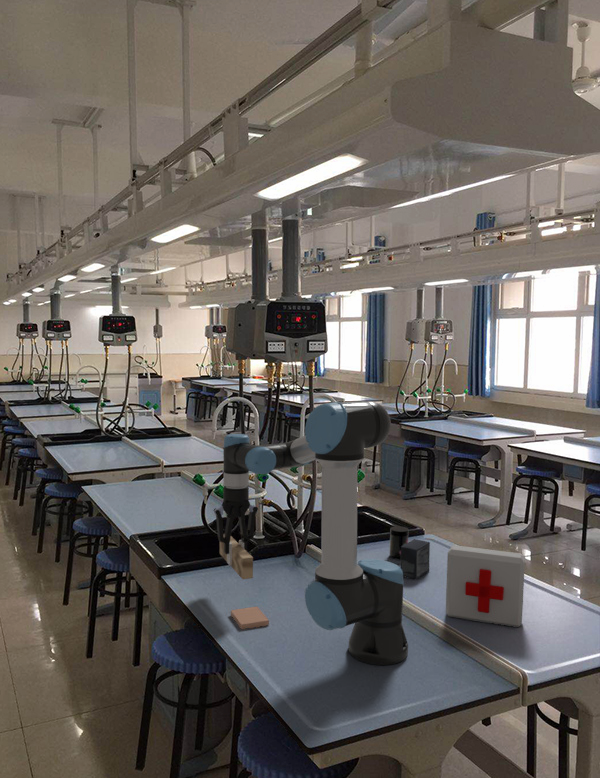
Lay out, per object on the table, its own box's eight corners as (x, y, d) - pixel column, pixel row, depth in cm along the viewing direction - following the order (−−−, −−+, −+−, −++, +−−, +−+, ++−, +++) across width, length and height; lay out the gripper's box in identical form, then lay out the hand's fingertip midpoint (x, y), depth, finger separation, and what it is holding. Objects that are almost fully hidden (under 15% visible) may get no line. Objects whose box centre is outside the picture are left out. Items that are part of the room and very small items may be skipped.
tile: (257, 613, 192) (268, 627, 183) (230, 617, 189) (241, 631, 180) (257, 606, 192) (268, 620, 183) (230, 610, 189) (241, 624, 180)
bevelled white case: (444, 619, 189) (446, 551, 188) (447, 608, 197) (450, 543, 195) (521, 631, 182) (524, 561, 180) (522, 620, 189) (525, 552, 188)
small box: (412, 567, 232) (413, 538, 231) (429, 571, 228) (431, 541, 227) (398, 575, 224) (399, 545, 223) (416, 580, 220) (417, 549, 219)
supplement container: (396, 560, 238) (397, 532, 238) (385, 555, 244) (386, 527, 244) (411, 558, 242) (412, 530, 241) (400, 552, 248) (401, 525, 247)
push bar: (252, 578, 187) (253, 557, 187) (242, 579, 186) (242, 558, 186) (228, 552, 210) (228, 533, 209) (219, 553, 208) (219, 534, 208)
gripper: (257, 481, 203) (256, 556, 204) (206, 485, 196) (206, 562, 198) (265, 486, 196) (264, 564, 197) (213, 490, 189) (212, 570, 191)
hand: (235, 563), depth 198 cm, fingers closed on push bar, 3 cm apart
